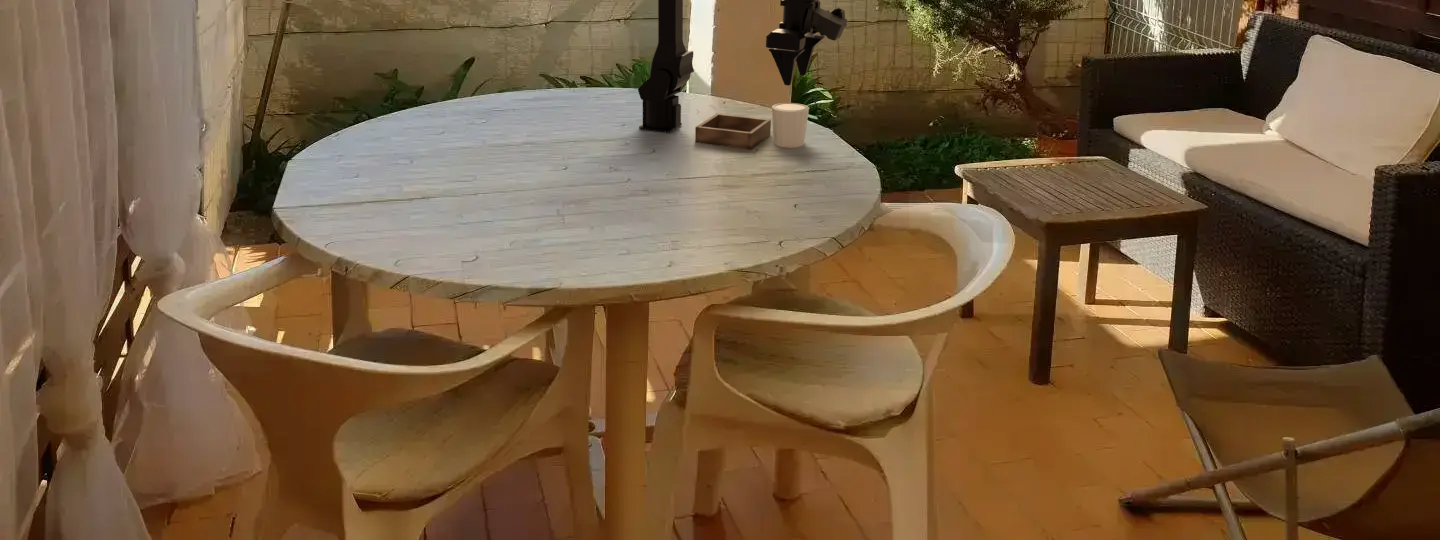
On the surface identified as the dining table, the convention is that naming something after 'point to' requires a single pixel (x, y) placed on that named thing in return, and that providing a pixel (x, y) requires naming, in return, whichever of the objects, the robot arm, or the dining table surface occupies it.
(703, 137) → the walnut crate
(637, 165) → the dining table surface
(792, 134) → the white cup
